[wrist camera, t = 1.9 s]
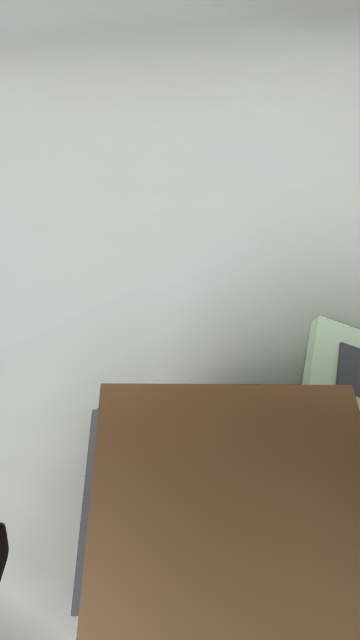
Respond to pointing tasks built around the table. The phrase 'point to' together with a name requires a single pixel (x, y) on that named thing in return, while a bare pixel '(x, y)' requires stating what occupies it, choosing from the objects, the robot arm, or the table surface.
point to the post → (223, 514)
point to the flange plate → (333, 355)
